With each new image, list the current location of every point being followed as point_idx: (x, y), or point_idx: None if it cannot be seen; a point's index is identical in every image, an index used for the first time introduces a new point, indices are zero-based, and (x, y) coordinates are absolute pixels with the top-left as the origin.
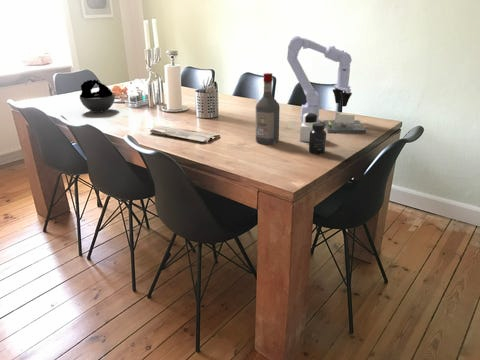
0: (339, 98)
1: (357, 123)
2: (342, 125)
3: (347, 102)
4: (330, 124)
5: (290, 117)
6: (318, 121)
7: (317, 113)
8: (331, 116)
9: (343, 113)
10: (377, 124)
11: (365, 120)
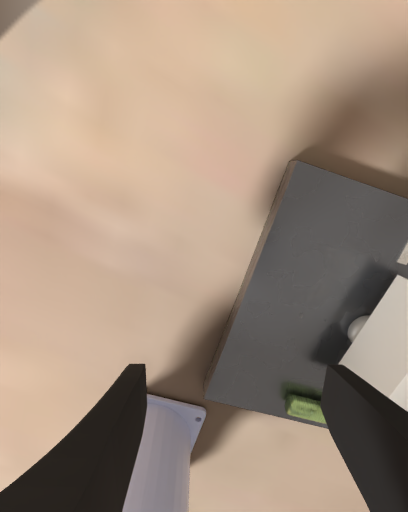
0: (126, 427)
1: (375, 221)
2: None
3: (388, 399)
4: None
5: None
6: (184, 412)
7: (182, 476)
8: (37, 269)
9: (397, 390)
10: (387, 5)
11: (227, 43)
